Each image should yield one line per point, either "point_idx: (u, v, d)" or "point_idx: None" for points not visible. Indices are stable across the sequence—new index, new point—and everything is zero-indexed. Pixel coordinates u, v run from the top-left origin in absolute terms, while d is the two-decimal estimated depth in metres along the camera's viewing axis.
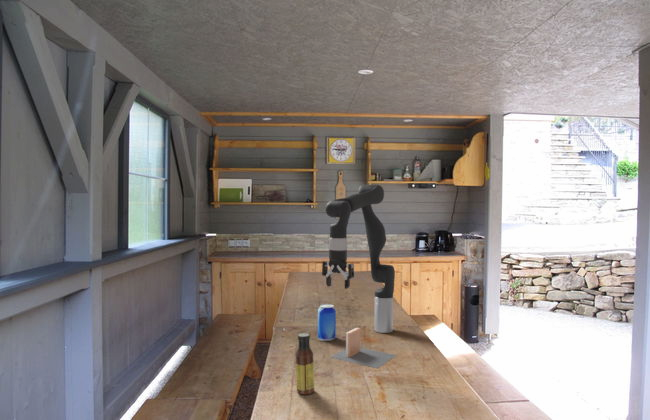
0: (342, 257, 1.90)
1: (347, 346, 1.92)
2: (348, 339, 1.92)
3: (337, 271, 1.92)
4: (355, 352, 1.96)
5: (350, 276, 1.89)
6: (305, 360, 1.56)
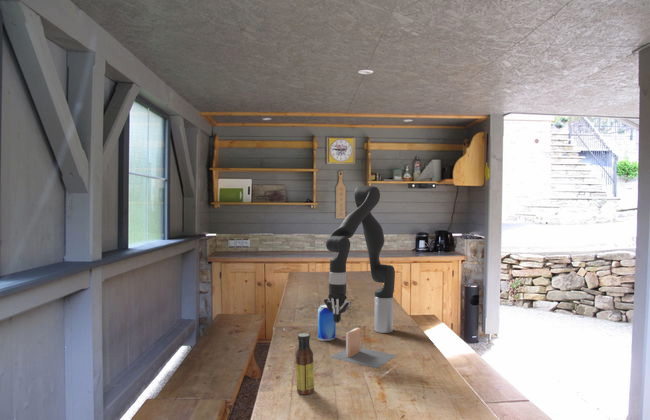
0: (342, 291, 1.96)
1: (347, 346, 1.92)
2: (348, 339, 1.92)
3: None
4: (355, 352, 1.96)
5: (341, 311, 1.97)
6: (305, 360, 1.56)
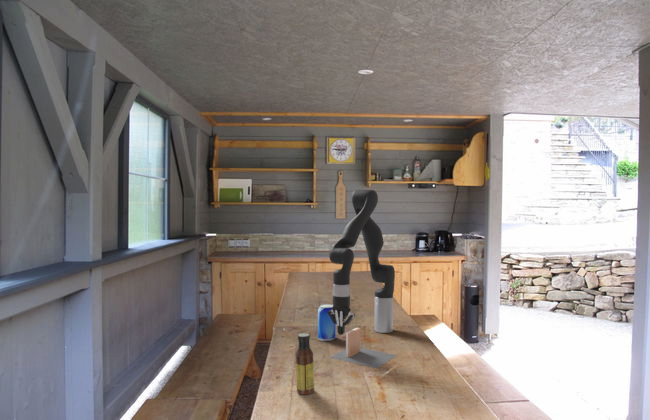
0: (345, 303, 1.95)
1: (347, 346, 1.92)
2: (348, 339, 1.92)
3: None
4: (355, 352, 1.96)
5: (345, 323, 1.96)
6: (305, 360, 1.56)
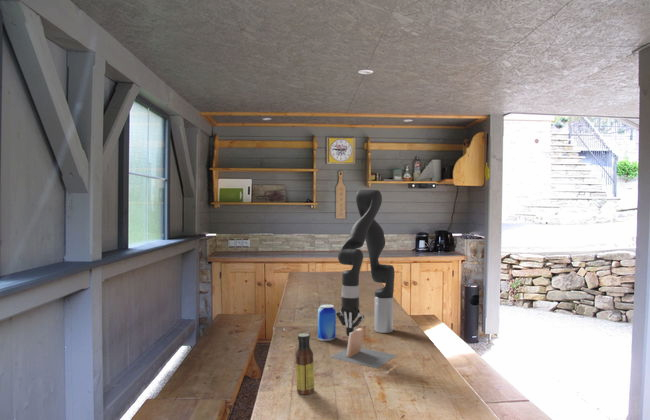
0: (355, 304, 1.93)
1: (348, 346, 1.92)
2: (350, 339, 1.91)
3: None
4: (355, 352, 1.96)
5: (354, 325, 1.94)
6: (305, 360, 1.56)
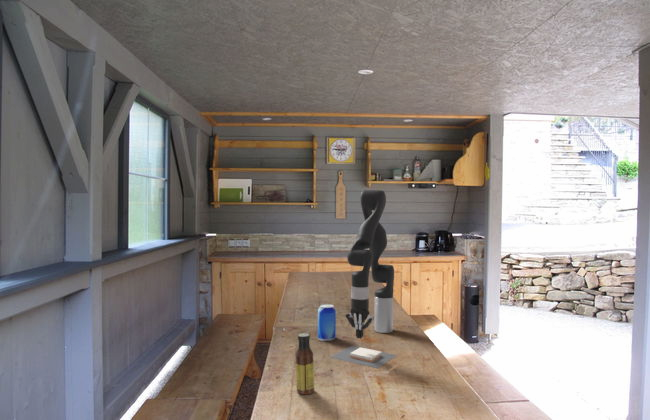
0: (364, 306, 1.90)
1: (359, 356, 1.89)
2: (365, 359, 1.88)
3: None
4: None
5: (364, 326, 1.92)
6: (305, 360, 1.56)
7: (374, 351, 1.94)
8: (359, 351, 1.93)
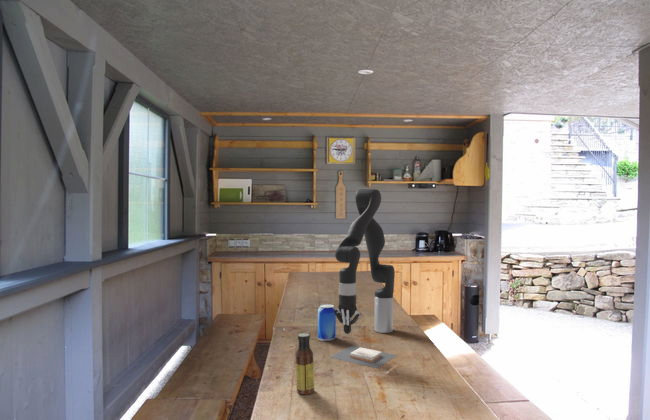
0: (352, 302, 1.94)
1: (359, 356, 1.89)
2: (365, 359, 1.88)
3: None
4: None
5: (351, 322, 1.95)
6: (305, 360, 1.56)
7: (374, 351, 1.94)
8: (359, 351, 1.93)
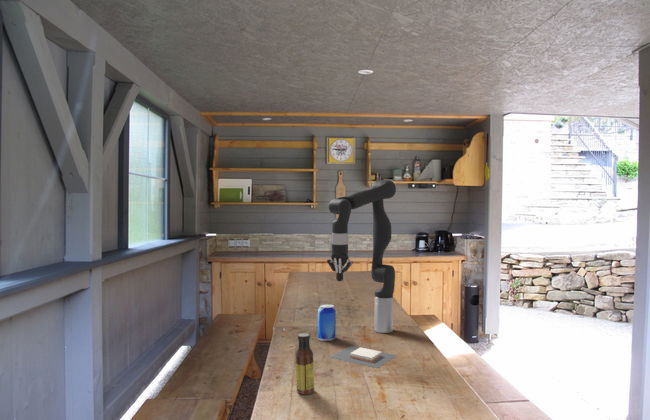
0: (344, 251, 2.07)
1: (359, 356, 1.89)
2: (365, 359, 1.88)
3: None
4: None
5: (343, 270, 2.08)
6: (305, 360, 1.56)
7: (374, 351, 1.94)
8: (359, 351, 1.93)
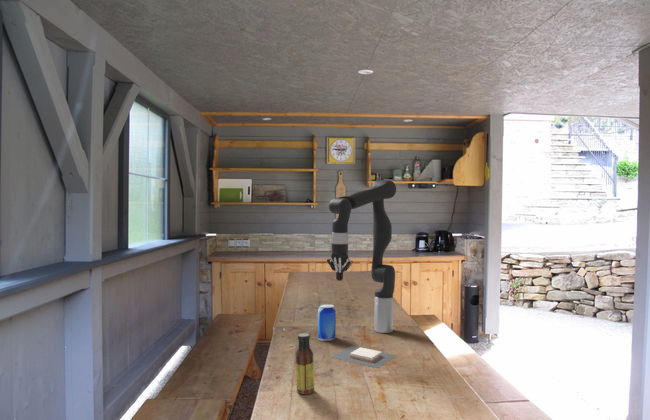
0: (344, 250, 2.07)
1: (359, 356, 1.89)
2: (365, 359, 1.88)
3: None
4: None
5: (343, 269, 2.08)
6: (305, 360, 1.56)
7: (374, 351, 1.94)
8: (359, 351, 1.93)
